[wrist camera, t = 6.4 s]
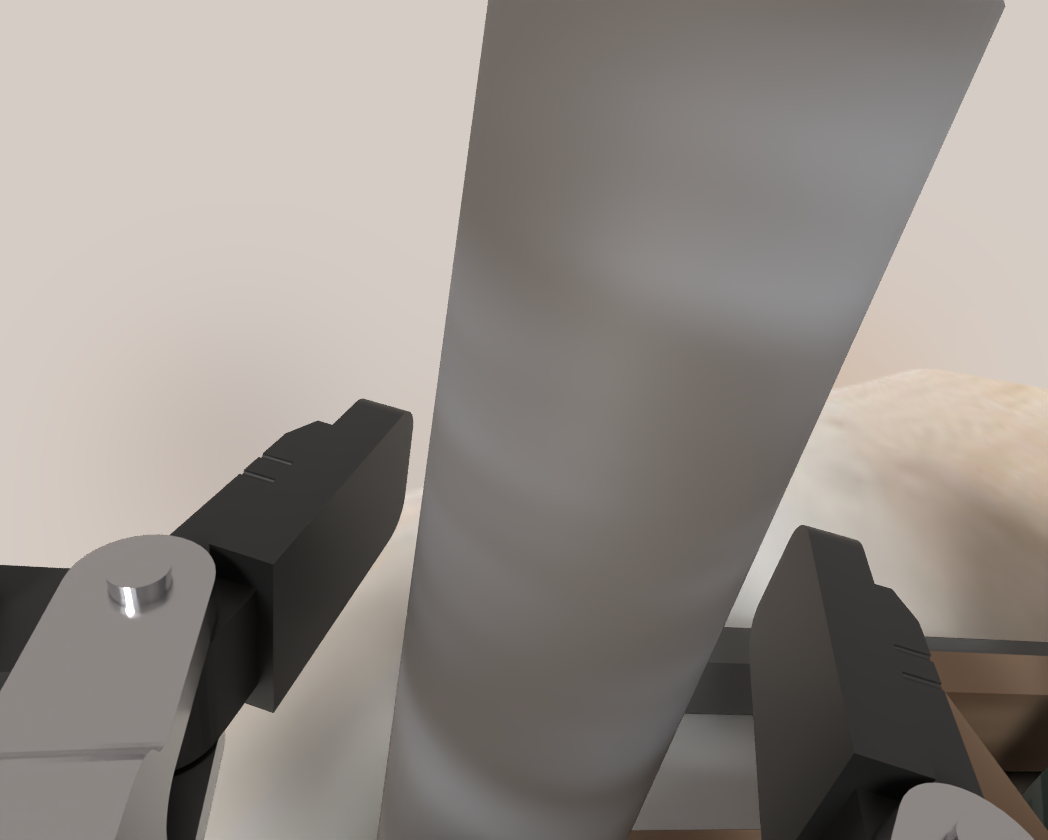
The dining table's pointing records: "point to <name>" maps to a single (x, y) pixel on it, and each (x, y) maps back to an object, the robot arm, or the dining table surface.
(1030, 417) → the dining table surface
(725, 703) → the lane rails
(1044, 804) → the can
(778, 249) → the pull sled
